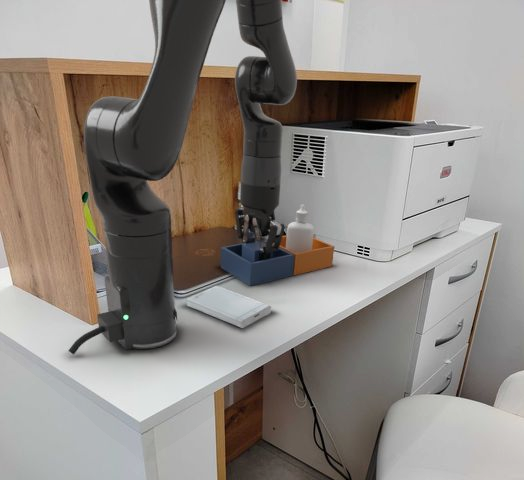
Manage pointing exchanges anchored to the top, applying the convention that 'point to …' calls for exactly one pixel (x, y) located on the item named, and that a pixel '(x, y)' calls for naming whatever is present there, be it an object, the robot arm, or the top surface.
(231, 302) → the hard drive
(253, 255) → the blue block
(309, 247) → the eye dropper bottle
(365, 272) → the top surface
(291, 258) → the blue bin
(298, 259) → the amber bin
